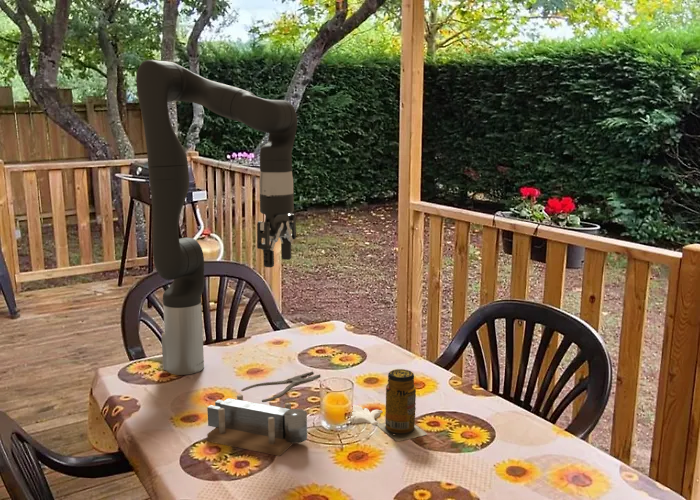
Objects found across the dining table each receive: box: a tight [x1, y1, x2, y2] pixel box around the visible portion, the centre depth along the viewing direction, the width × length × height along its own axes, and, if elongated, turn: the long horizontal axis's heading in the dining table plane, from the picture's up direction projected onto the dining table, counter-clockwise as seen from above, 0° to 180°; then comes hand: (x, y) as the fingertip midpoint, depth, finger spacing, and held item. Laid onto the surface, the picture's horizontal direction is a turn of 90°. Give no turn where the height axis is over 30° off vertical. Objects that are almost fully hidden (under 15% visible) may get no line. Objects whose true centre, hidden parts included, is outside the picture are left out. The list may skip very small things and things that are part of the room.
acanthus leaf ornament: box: [350, 404, 384, 426], centre depth 145 cm, size 8×7×2 cm
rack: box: [206, 394, 294, 457], centre depth 135 cm, size 16×10×6 cm, turn 68°
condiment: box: [375, 368, 428, 442], centre depth 138 cm, size 7×8×12 cm
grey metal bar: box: [206, 398, 308, 444], centre depth 135 cm, size 21×4×5 cm, turn 68°
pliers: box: [241, 370, 321, 403], centre depth 162 cm, size 10×1×20 cm
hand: (277, 263), depth 154 cm, fingers open, 8 cm apart
